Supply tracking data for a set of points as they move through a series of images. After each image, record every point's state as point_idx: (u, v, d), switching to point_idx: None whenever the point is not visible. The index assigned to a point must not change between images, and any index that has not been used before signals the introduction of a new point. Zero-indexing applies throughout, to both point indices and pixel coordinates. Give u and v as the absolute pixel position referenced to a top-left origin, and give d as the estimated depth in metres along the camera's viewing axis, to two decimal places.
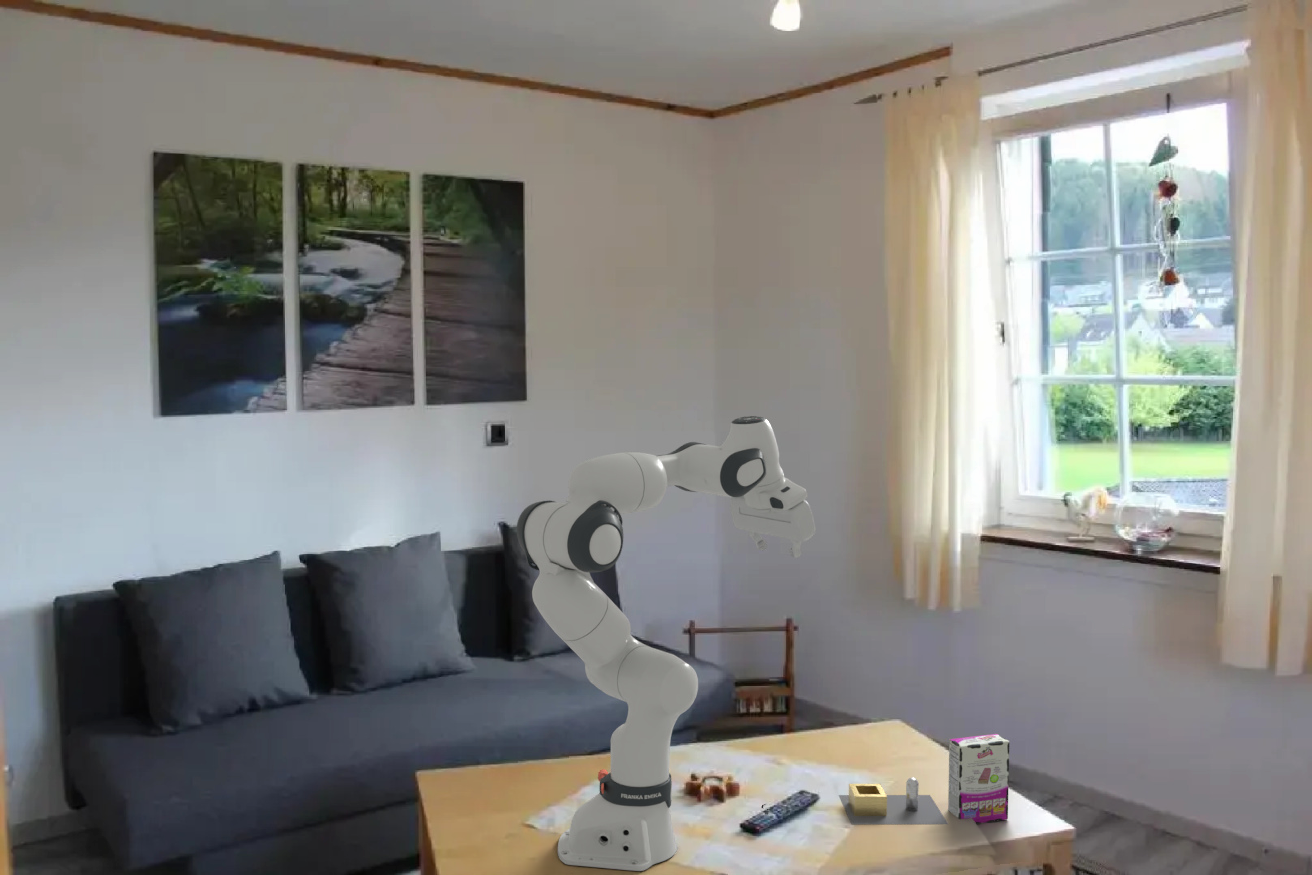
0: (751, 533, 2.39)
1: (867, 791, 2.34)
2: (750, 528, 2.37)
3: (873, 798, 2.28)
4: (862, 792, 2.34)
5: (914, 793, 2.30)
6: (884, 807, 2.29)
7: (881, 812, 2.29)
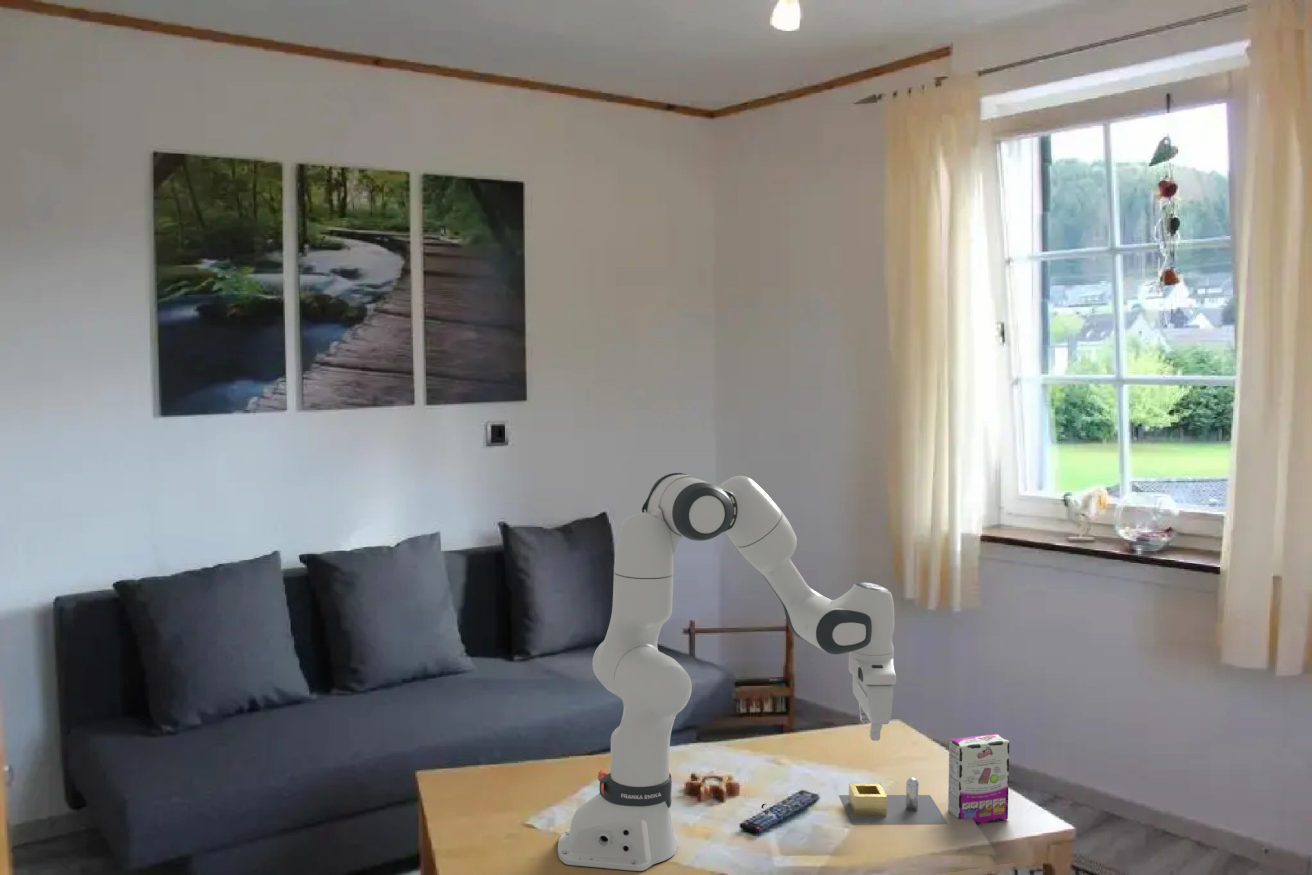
0: (859, 702, 2.36)
1: (867, 791, 2.34)
2: (856, 695, 2.35)
3: (873, 798, 2.28)
4: (862, 792, 2.34)
5: (914, 793, 2.30)
6: (884, 807, 2.29)
7: (881, 812, 2.29)
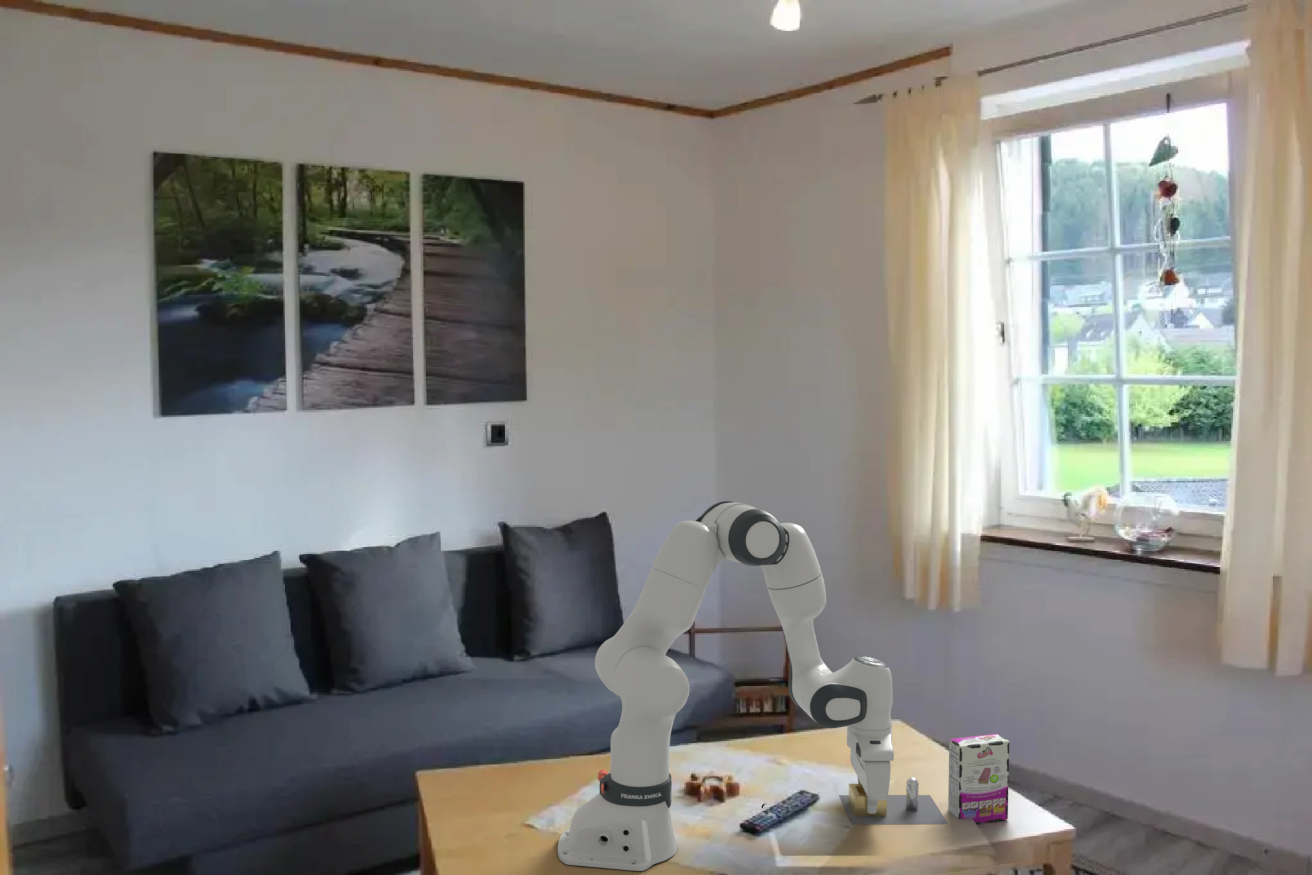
0: None
1: None
2: (854, 767, 2.36)
3: None
4: (862, 792, 2.34)
5: (914, 793, 2.30)
6: (884, 807, 2.29)
7: (881, 812, 2.29)
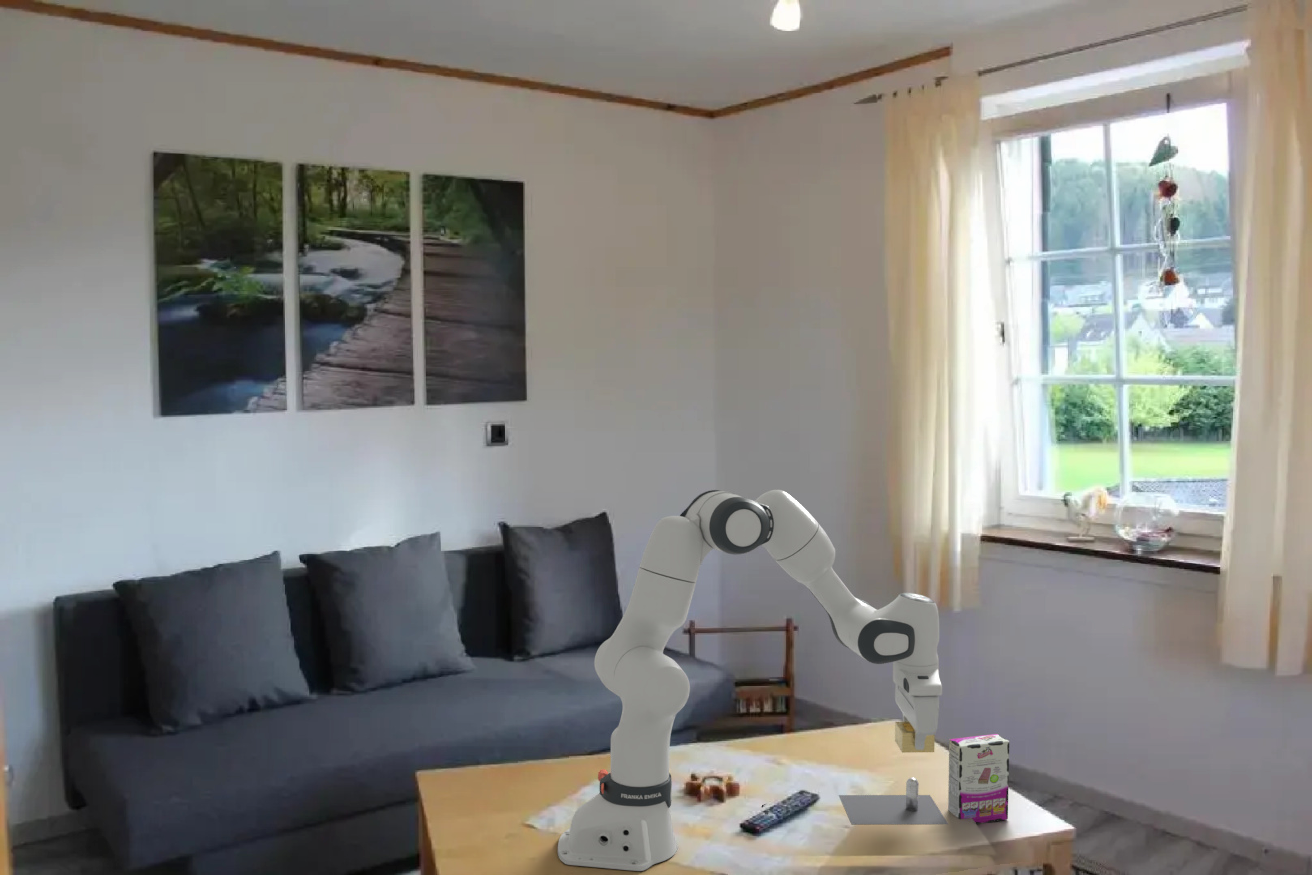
0: (903, 713, 2.35)
1: (913, 729, 2.33)
2: (900, 706, 2.35)
3: None
4: (908, 730, 2.33)
5: (914, 793, 2.30)
6: (932, 743, 2.28)
7: (929, 748, 2.28)
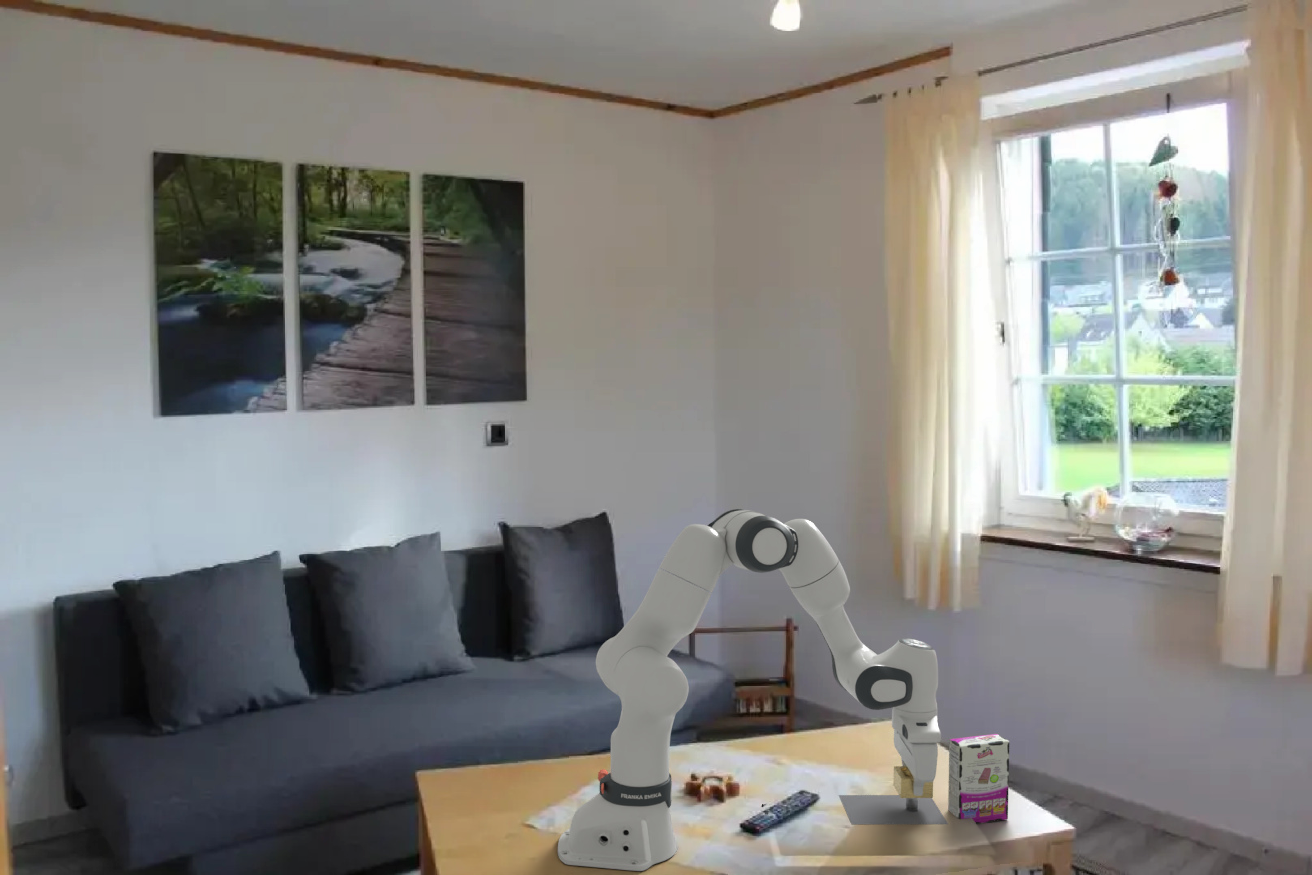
0: (902, 758, 2.36)
1: None
2: (898, 750, 2.36)
3: None
4: (907, 774, 2.34)
5: None
6: (930, 789, 2.28)
7: (927, 794, 2.29)
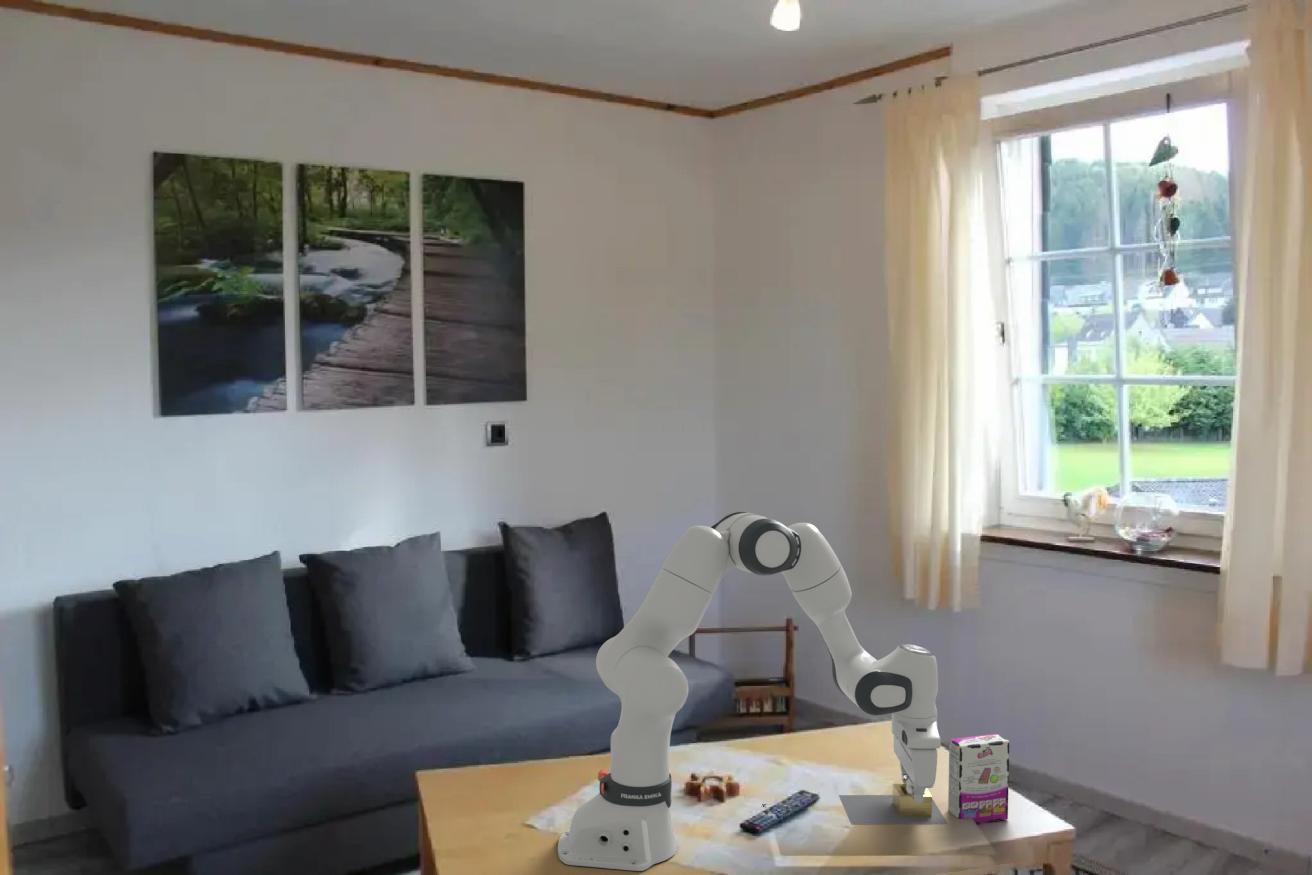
0: (900, 762, 2.37)
1: None
2: (898, 756, 2.36)
3: None
4: None
5: None
6: (929, 807, 2.29)
7: (926, 812, 2.29)
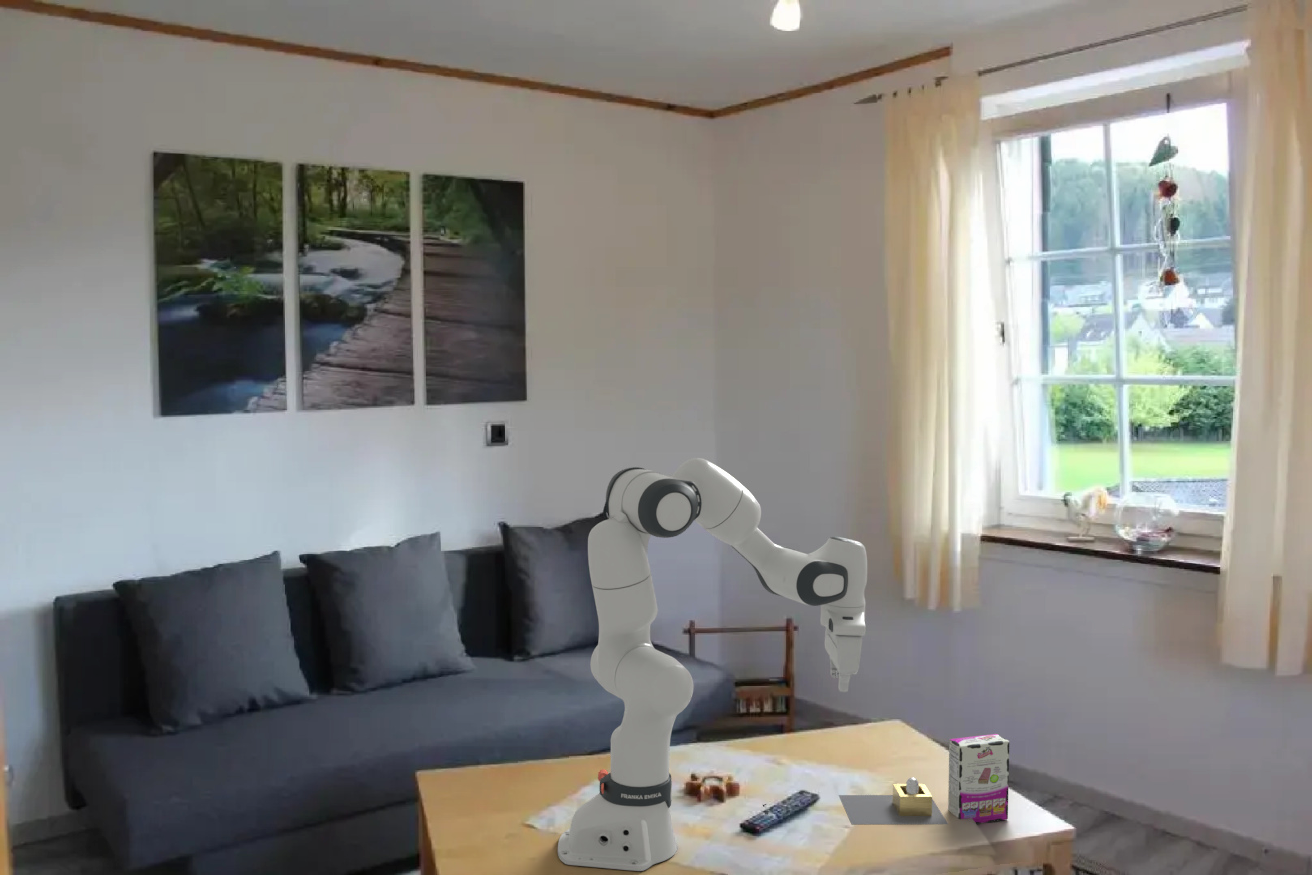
0: (830, 657, 2.39)
1: None
2: (827, 650, 2.38)
3: (918, 798, 2.28)
4: None
5: (914, 793, 2.30)
6: (929, 807, 2.29)
7: (926, 812, 2.29)
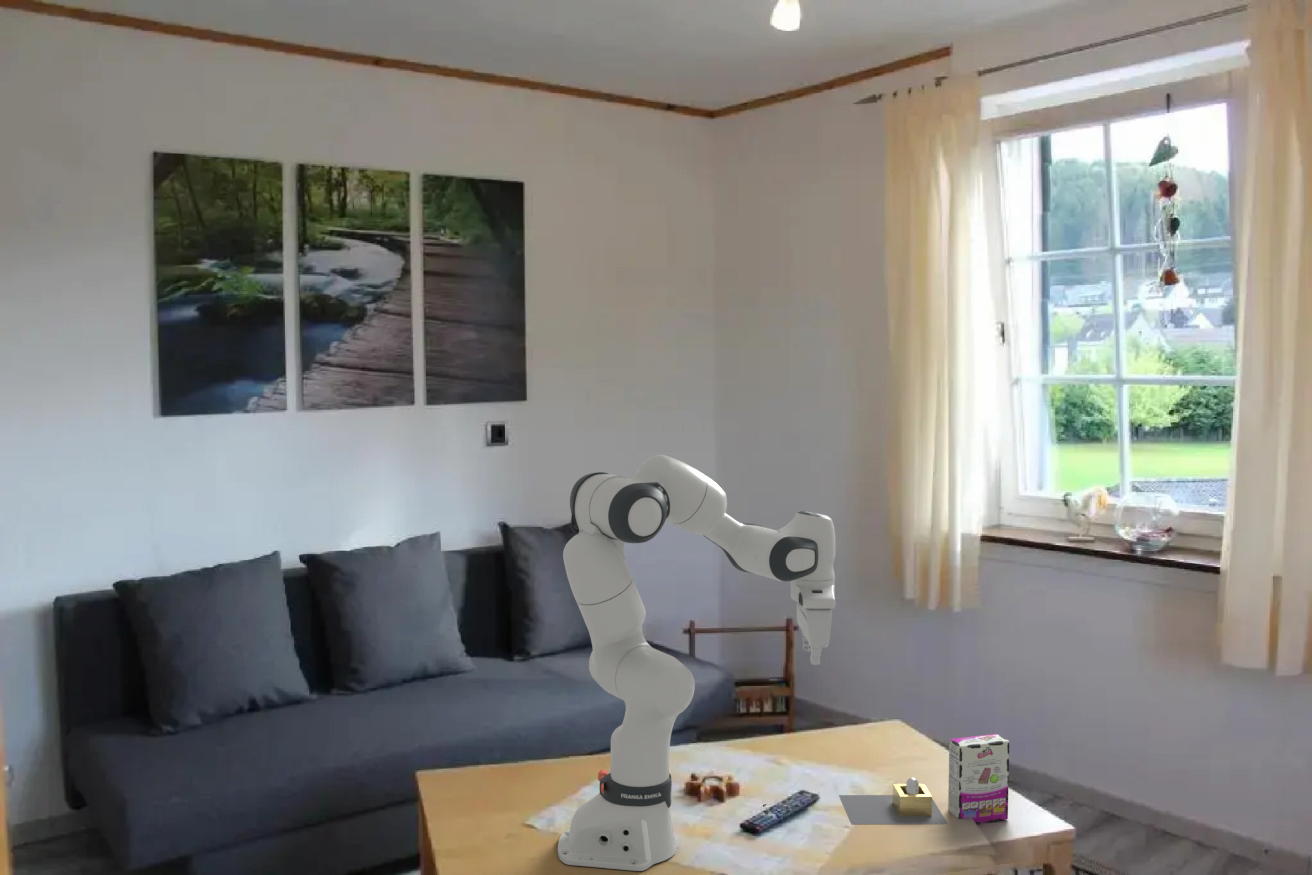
0: None
1: None
2: (799, 624, 2.39)
3: (918, 798, 2.28)
4: None
5: (914, 793, 2.30)
6: (929, 807, 2.29)
7: (926, 812, 2.29)
